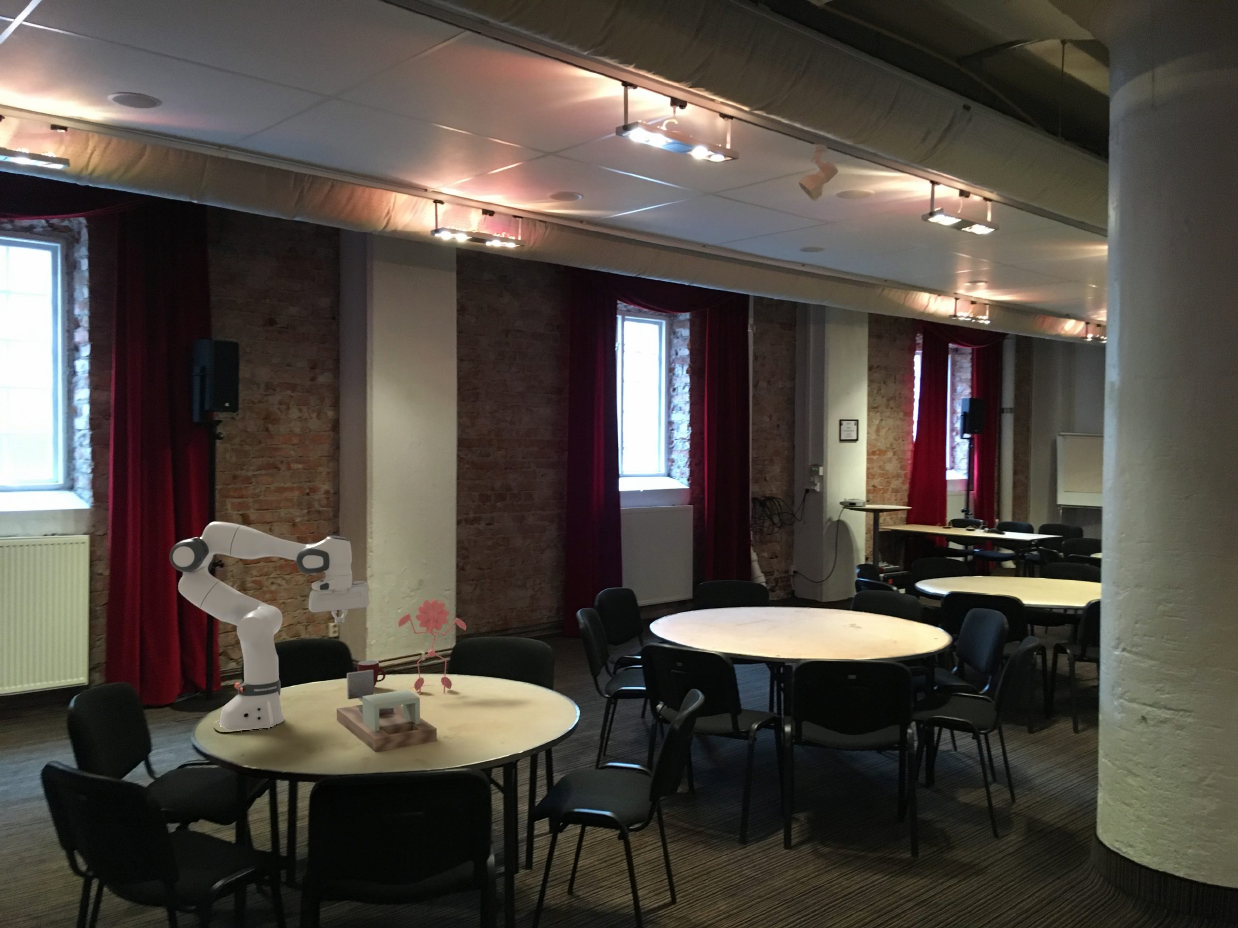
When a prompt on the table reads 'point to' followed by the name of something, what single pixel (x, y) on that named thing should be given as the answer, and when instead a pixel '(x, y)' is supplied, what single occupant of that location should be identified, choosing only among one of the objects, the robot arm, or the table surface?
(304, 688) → the table surface
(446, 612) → the pink flower toy
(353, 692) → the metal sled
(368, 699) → the tunnel
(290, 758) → the table surface
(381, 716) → the walnut deck
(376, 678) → the mug
